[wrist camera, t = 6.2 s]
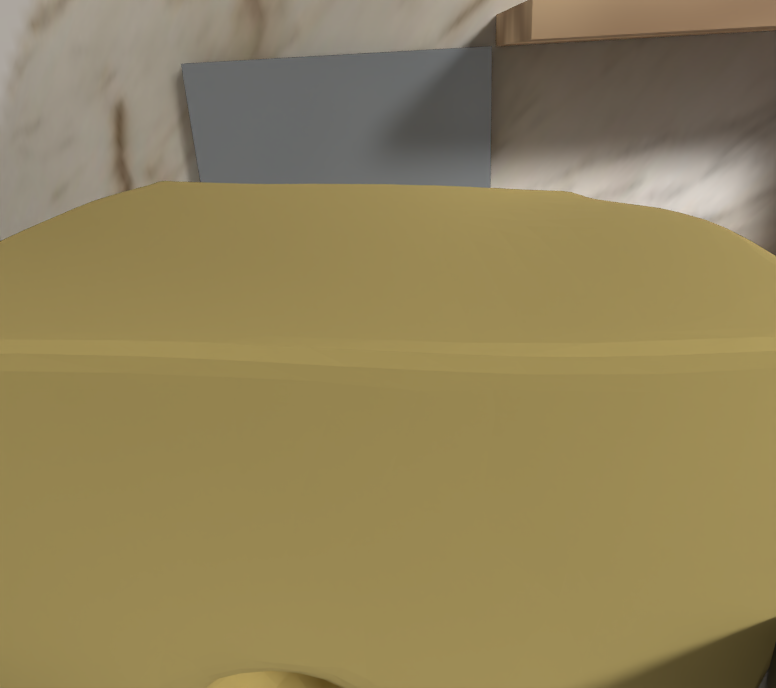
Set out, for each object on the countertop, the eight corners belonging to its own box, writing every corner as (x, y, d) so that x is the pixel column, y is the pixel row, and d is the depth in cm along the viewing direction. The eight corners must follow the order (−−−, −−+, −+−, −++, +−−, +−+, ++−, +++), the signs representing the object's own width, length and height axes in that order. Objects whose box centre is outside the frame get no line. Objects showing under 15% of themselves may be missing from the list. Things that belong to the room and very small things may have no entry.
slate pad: (186, 64, 28) (180, 63, 27) (488, 46, 28) (491, 46, 27) (236, 377, 34) (233, 383, 33) (486, 364, 33) (488, 370, 33)
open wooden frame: (496, 14, 27) (532, -2, 21) (936, -11, 27) (1112, -36, 20) (491, 384, 34) (517, 458, 27) (842, 366, 34) (951, 436, 27)
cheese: (547, 528, 19) (702, 963, 10) (180, 524, 19) (-15, 961, 10) (600, 164, 15) (954, 320, 6) (131, 155, 15) (-291, 300, 6)
